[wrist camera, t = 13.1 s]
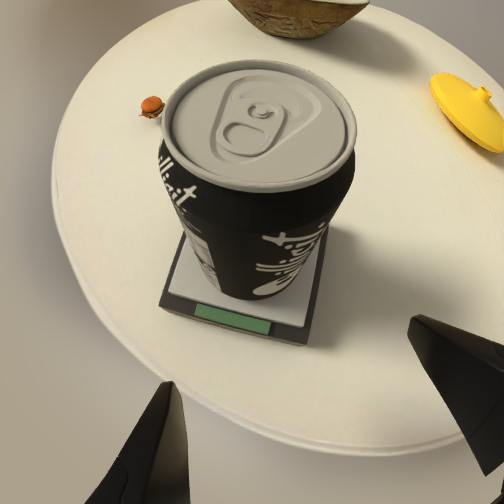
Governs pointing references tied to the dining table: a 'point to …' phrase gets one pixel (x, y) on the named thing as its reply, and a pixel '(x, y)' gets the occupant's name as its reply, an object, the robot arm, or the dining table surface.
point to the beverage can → (256, 169)
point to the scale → (242, 311)
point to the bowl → (298, 15)
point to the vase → (469, 110)
